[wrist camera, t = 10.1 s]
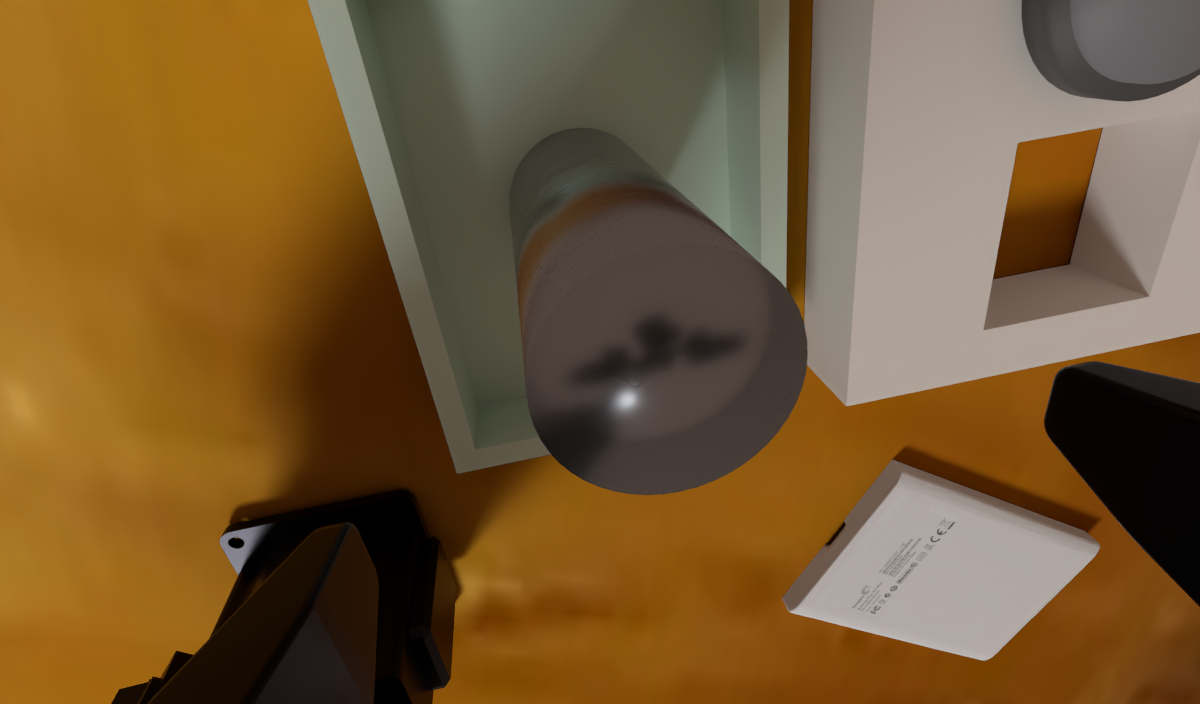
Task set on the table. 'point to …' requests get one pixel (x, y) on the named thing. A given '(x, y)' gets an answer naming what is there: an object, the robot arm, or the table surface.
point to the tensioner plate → (994, 185)
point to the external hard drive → (939, 565)
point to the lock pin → (643, 323)
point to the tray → (515, 125)
